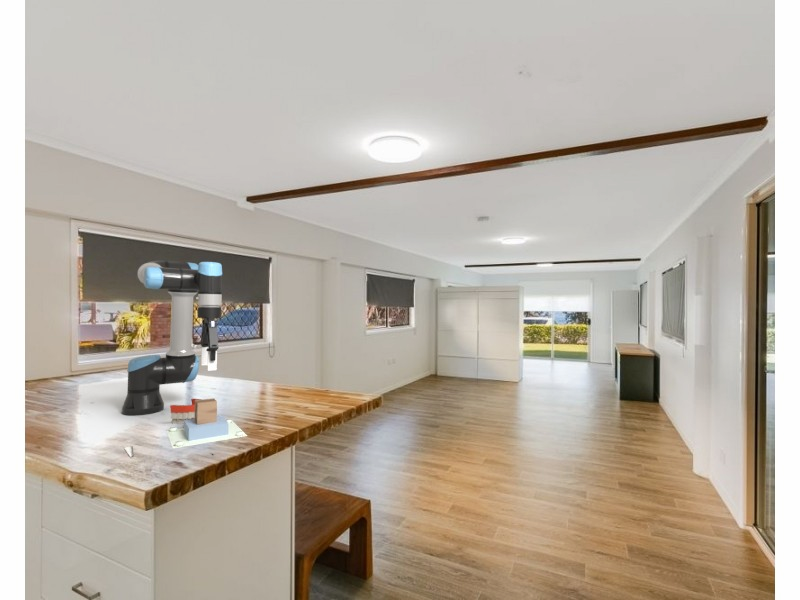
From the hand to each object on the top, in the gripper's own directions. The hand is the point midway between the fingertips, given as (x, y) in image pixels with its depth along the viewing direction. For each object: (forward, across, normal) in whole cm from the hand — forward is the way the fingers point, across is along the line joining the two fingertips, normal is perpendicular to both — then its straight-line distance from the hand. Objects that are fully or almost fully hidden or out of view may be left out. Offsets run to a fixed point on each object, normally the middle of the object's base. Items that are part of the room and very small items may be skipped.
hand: (208, 367), depth 141 cm
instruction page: (+23, +4, -20) cm, 31 cm away
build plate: (+23, +1, -1) cm, 23 cm away
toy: (+24, -19, -2) cm, 30 cm away
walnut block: (+18, +1, -1) cm, 18 cm away
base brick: (+22, +1, -1) cm, 22 cm away
